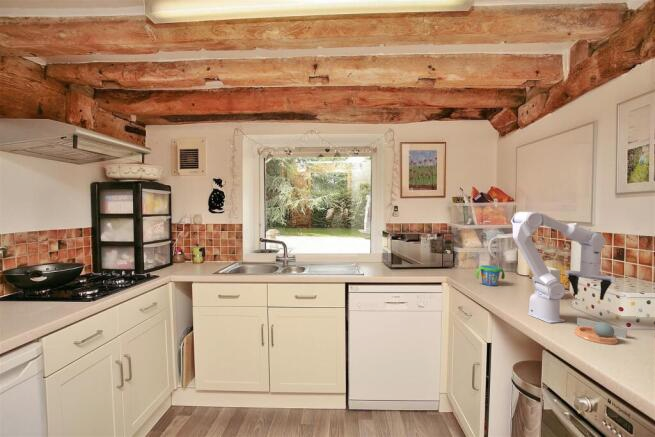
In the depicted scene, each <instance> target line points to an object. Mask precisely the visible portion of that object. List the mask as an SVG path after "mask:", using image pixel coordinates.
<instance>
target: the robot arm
mask: <svg viewBox="0 0 655 437" xmlns="http://www.w3.org/2000/svg"><path fill="white" fill-rule="evenodd" d="M510 222H511V224H512V238H513V241H514V243H515V244H516V246H517V247H518V249H519V251H520V253H521V254H522V257H523V258H524V260H525V262H526V264H527V266H528V268H529V270H530V272H531V274H532V275H533V276H532V277H531V279H532V281H533V289H534V291H535V290H536V291H537V293H535V292H534V293H532V294H531V295H530V297H529V302H528V304H529V305H528V307H529V308H528V313H527V315H528V316H530V317H533V318H535V319H537V320H541V321H543V322H545V323H548V324H555V323H561V322H565V321H566V320H565V319H563V318H561V317H560V306H561V304H560V303H561V299H562V298H563V297H564V296H565V294H566V288H565V285H563V283H561V282H560V283H559V282H558V280H557V279H556V278H555V277H554V276H553V275H552V274H551V273H550V272H549V270H548V269H547V267H546V266H547V265H546V264H545V262H544V260H543V258H542V256H541V254H540V253H539V251H538V249H537V247H536V245H535V243H534V241H533V239H532V238H531V237H532V235H533V234H534V233H536V231H537V230H538V229H539V228H540V227H543V226H545V227H547V228H550V229H554V230H555V231H558V232H561V235H562V236H563V237H565V238H566V239H570V240H572V241H575V242H577V243H578V244H579V245H580V246H581V247H580V262H579V264H580V267H579V270H569V269H566V270H565V276H567V278H568V282H569V283H570V285H571V288H572V289H573V295H575V296H577V295H578V294H579V281H580V280H579V278H583V279H584V278H585V279H590V280H595V281H596V280H597V281H600V294H599V300H601V301H604V298H605V294H606V292H607V290H608V288H610V286H611V285H612V283H613V284H615V283H616V279H617V277H616V276H611V275H606V274H601V272H600V271H601V256H602V255H601V254H602V253H601V252H602V251H603V247H604V246H605V244H606V242H607V240H606V239H605V237H604V235H603V234H602V233H600V232H597V231H596V232H595V231H592V230H591V229H590V228H584V227H583V226H580V224H579V223H577V222H574V223H573V222H570V223H567V224H566V223H564V222H562V221H560V220H557V219H555V218H553V217H551V216H548V215H546V214H545V213H540V212H538V211H523V210H521V211H520V210H519V211H517V212H515V213H514V215H513V217H512V218H511V220H510Z"/></svg>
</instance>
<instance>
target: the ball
mask: <svg viewBox="0 0 655 437" xmlns="http://www.w3.org/2000/svg"><path fill="white" fill-rule="evenodd" d="M611 325H612V324H609V323H607V322H603V321H601V322H600V321H599V323H597V324H595V326H594V331H595V333H596V334H597V335H598V336H600V337H604V338H610V337H612V336H613V335H614V329H613V327H612V326H613V325H612V326H611Z"/></svg>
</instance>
